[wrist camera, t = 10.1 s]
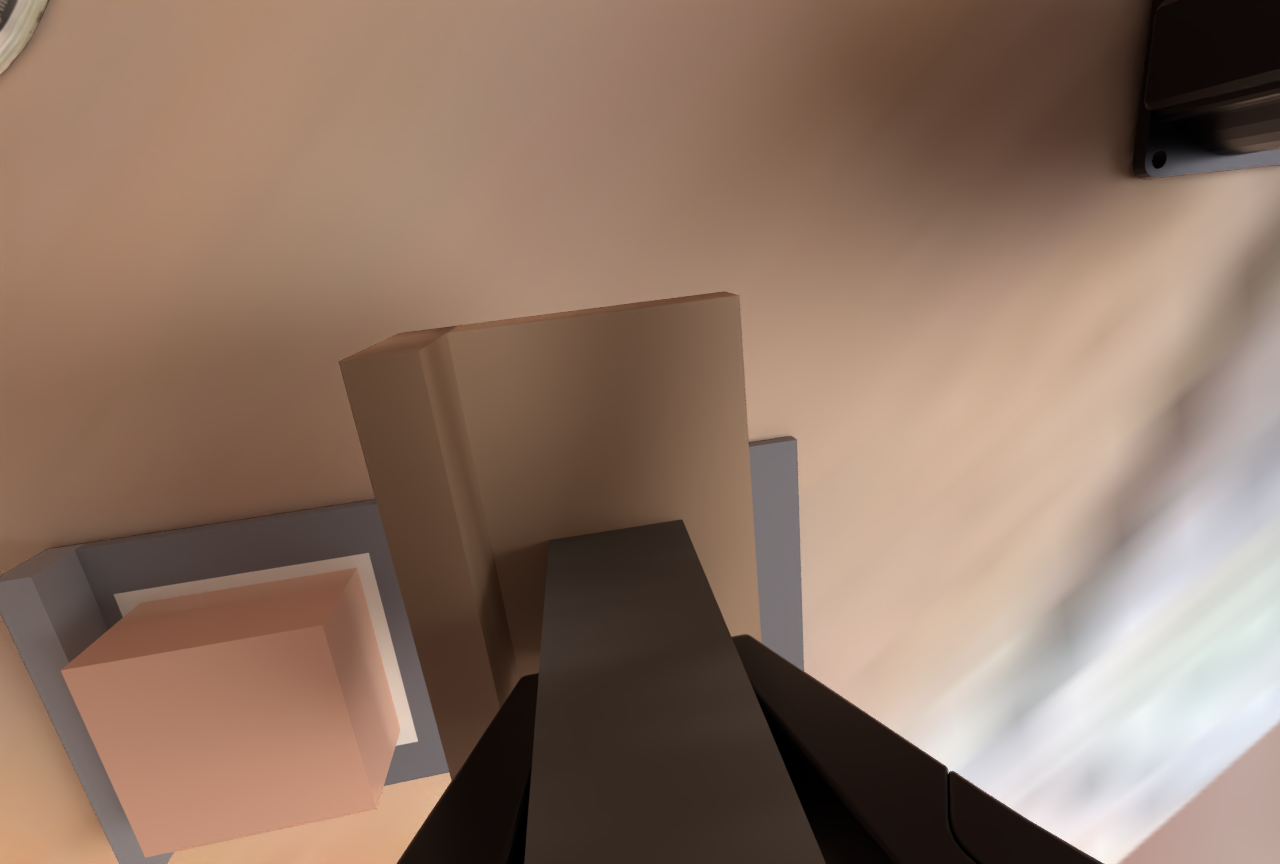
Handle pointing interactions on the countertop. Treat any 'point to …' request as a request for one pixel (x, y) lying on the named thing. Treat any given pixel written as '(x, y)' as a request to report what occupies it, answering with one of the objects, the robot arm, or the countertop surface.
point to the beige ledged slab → (588, 568)
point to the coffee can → (17, 27)
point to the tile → (240, 710)
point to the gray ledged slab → (294, 547)
